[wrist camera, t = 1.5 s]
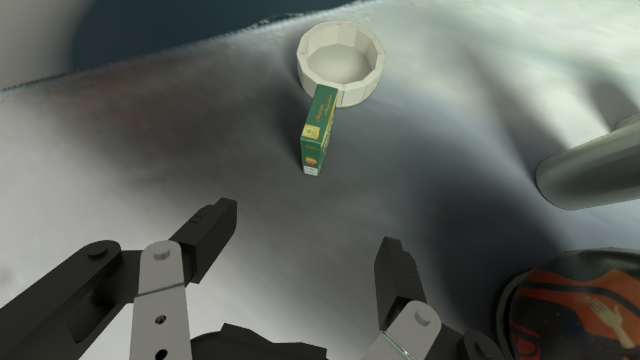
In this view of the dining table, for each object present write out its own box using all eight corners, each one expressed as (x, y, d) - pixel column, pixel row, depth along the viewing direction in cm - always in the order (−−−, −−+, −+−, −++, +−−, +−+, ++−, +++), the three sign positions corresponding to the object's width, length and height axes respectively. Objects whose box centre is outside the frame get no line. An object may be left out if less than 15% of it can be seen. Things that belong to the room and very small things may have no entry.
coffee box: (318, 180, 40) (322, 144, 27) (301, 175, 40) (297, 137, 27) (331, 137, 42) (340, 86, 30) (315, 132, 42) (317, 80, 30)
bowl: (382, 52, 48) (389, 30, 43) (369, 115, 44) (376, 98, 39) (309, 37, 48) (309, 13, 44) (290, 98, 44) (287, 78, 39)
